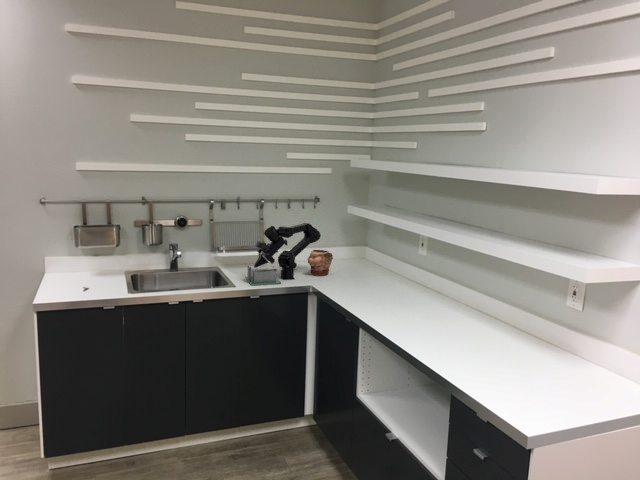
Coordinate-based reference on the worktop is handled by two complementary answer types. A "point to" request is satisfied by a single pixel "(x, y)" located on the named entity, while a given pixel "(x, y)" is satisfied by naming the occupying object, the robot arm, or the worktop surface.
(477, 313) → the worktop surface
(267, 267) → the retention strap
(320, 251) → the decorative planter
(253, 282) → the green grey square block
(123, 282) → the worktop surface
